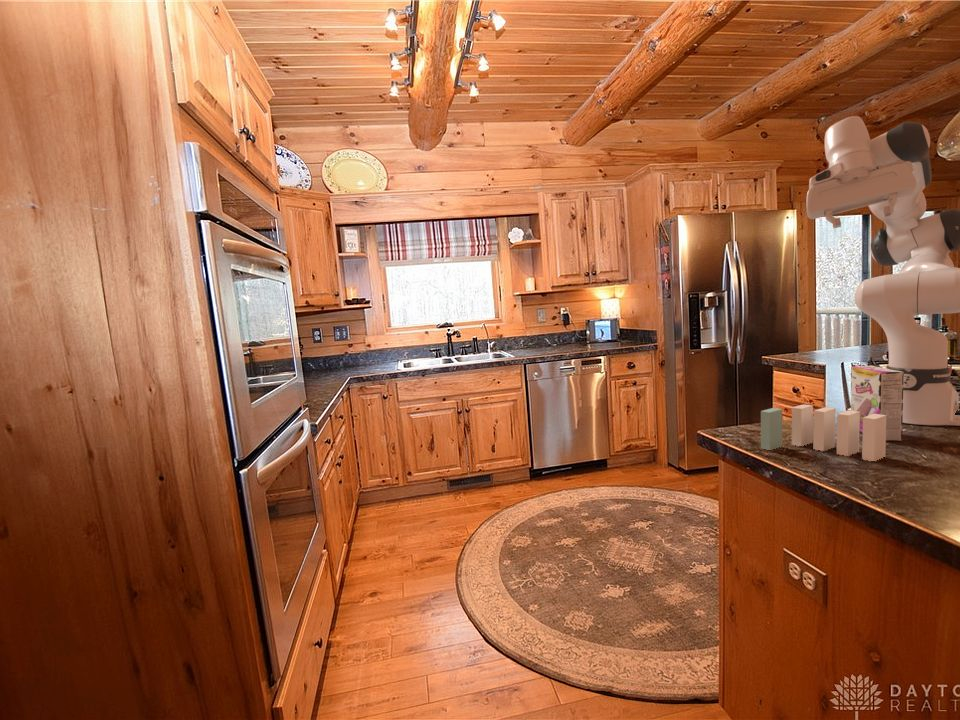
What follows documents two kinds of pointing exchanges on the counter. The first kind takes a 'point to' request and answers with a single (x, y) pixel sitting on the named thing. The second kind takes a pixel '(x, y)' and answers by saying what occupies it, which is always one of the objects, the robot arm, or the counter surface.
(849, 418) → the domino
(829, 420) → the domino
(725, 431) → the counter surface
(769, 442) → the domino
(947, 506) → the counter surface
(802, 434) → the domino
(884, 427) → the domino
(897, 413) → the candy bar box
